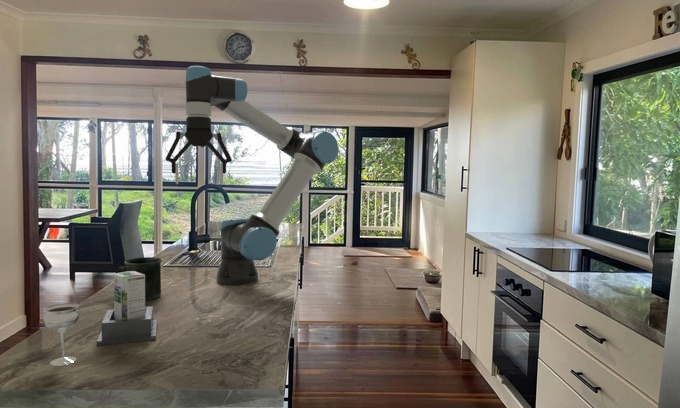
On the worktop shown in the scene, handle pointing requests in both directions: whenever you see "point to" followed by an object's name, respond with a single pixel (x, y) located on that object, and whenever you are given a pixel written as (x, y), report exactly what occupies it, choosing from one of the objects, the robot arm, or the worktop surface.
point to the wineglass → (61, 325)
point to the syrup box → (129, 295)
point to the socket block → (127, 329)
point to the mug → (146, 274)
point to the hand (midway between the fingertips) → (199, 184)
